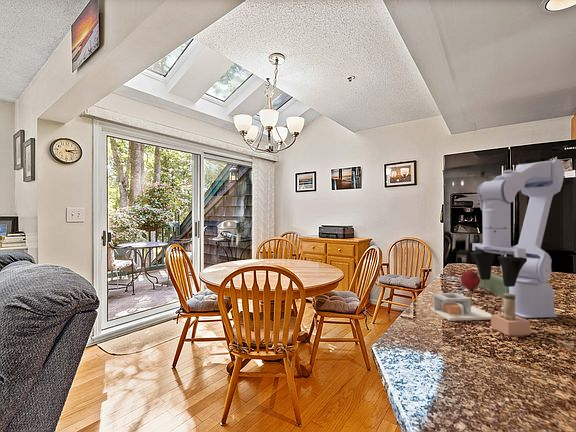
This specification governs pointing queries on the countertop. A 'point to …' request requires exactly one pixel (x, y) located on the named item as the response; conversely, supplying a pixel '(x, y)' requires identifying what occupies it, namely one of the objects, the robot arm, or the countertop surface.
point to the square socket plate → (465, 307)
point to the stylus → (509, 306)
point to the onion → (470, 279)
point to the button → (452, 308)
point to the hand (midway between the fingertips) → (496, 282)
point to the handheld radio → (494, 284)
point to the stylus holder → (510, 325)
